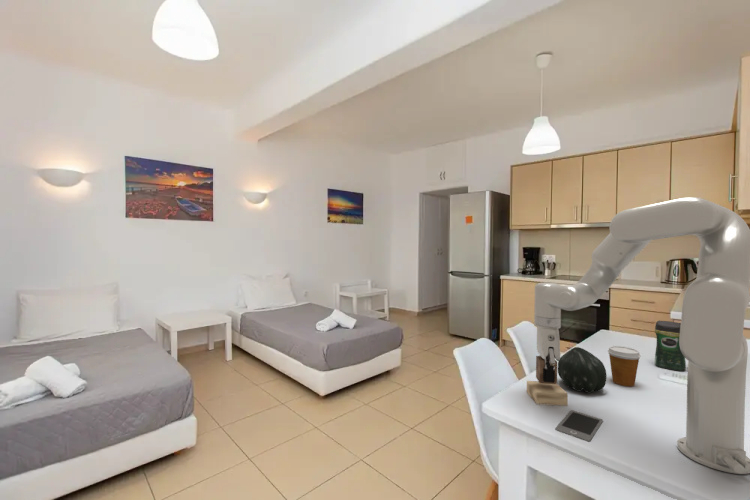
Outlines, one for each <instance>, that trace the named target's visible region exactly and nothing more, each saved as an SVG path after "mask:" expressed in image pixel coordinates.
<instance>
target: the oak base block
mask: <svg viewBox="0 0 750 500" xmlns="http://www.w3.org/2000/svg"><path fill="white" fill-rule="evenodd" d="M526 393H527V394H528V395H529V396H530V398H531V399H532V400H533V401H534V403H535V404H536V403H537V404H536V405H544V404H545V406H546V405H547V406H565V407H566V406H568V397H569V396H568V395H569V394H568V392H567V391H565V389H563V388H562V387H561V386H560V385H559V384H558V383H557V385H556V384H545V383H539V381H538V380H536V381H535V380H526Z"/></svg>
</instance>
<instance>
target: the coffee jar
mask: <svg viewBox="0 0 750 500" xmlns="http://www.w3.org/2000/svg"><path fill="white" fill-rule="evenodd" d="M680 327H681V322H676V321H668V320H657V321H656V322H655V327H654V333H655V335H656V345H655V346H656V347H655V353H654V365H655V366H657V367H659V368H662V369H666V370H673V371H679V372H680V371H685V370H686V368H687V365H686V358H685V357H684V355H683V354H682V352H681V349H680V345H679V338H680Z"/></svg>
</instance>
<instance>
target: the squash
mask: <svg viewBox="0 0 750 500" xmlns="http://www.w3.org/2000/svg"><path fill="white" fill-rule="evenodd" d="M557 375H558V376H559V377H560V380H561V381H562V383H563V384H564V386H566V387H567V388H570V389H574V391H578V392H580V391H584V392H586V393H592V392H600V391H601V390H603V389H604V387H606V383H607V370H606V367H605V365H604V363H603V361H601V359H600V358H598V357H597V356H596V355H594V354H593V353H592V352H590V351H588V350H586V349H584V348H582V347H579V346H576V347H572V348H571V349H570V350H568V351H566V352H565V353H564V354H563V355H561V356H560V360H559V361H557Z"/></svg>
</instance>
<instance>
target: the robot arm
mask: <svg viewBox="0 0 750 500" xmlns="http://www.w3.org/2000/svg"><path fill="white" fill-rule="evenodd" d="M748 225H749V224H748V223H747V222H746V221H745V220H744V219H743V218H742V217H741V216H740V215H739V214H738V213H736V212H735V211H733V210H731V209H729V208H727V207H725V206H722V205H721V204H718V203H715V202H713V201H711V200H707V199H705V198H702V197H696V196H688V197H679V198H675V199H672V200H667V201H666V200H665V201H663V202H662V201H660V202H656V203H652V204H648V205H647V204H646V205H643V206H638V207H633V208H632V207H631V208H628V209H623V210H622V211H619V212H618V213H617V214H615V215H614V216H613V218H611V221H610V224H609V228H608V229H609V234H608V235H606V237H605V238H604V239H603V240H602V241H601V243H599V245H598V246H596V248H594V250H593V251H592V254H591V265H590V267H589V268H588V270H587V271H586V273H585V274H584V275H583V276H582V277H581V278H580V279H579V280H578V281H577V282H576V283H574V284H568V285H566V284H565V285H560V284H558V283H555V282H538V283H536V284H535V286H534V318H533V319H534V320H533V321H534V322H533V323H534V325H533V326H535V327H537V328H536V352H537V353H538V354H539V355H538V356H541V357H542V358H543V359H544V368H543V381H544V382H552V383H554V382H555V360H556V361H557V362H558V361H559V360H560V358H561V345H560V343H561V341H560V331H559V329H561V327H562V326H561V325H562V324H561V321H562V314H561V313H562V310H564V311H569V312H570V311H571V312H573V311H577V310H581V309H584V308H587V307H590V306H592V305H593V304H595V303H596V302H597V300H599V299H600V298H601V297H602V296H603V295H604V294H605V293H606V292H607V291H608V290H609V289H610V288H611V286H612V285H613V284H614V282H615V281H616V279H618V277H619V276H620V275H621V272H622V271H624V269H625V268H626V267H627V266H628V265H629V264H630V263H631V262H632V261H633V260H634V259H635V258H636V257H637V256H638V255H639V254H640V253H641V252H642V251H643V250H644V249H645V248H646V247H647V245H649V244H650V243H651V242H652V241H653V240H662V239H668V238H677V237H682V236H694V237H697V238H698V240H699V243H700V246H699V247H700V248H699V252H698V265H697V273H696V277H695V280H694V281H693V282H691V283H690V284H689V285H688V286H687V288H686V289H685V292H684V295H683V301H682V307H681V308H682V309H681V319H680V323H681V327H680V338H679V345H680V349H681V352H682V354H683V355H684V357H685V360H687V376H686V377H687V378H686V379H687V381H686V383H687V385H686V417H685V418H686V419H685V420H686V423H685V424H686V426H685V428H686V429H685V437H681V438H679V439H677V443H676V444H677V445H676V446H677V448H678V450H679V451H680V452H681V453H682V454H683V455H685V457H688V458H689V459H691V460H693V461H694V462H696V463H699V464H701V465H703V466H706V467H709V468H711V469H713V470H716V471H717V470H718V471H720V472H725V473H729V474H735V475H736V474H737V475H747V474H748V475H749V474H750V457H749V456H748V455H747V452H746V450H745V416H746V415H745V414H746V413H745V411H746V409H745V408H746V407H745V406H746V382H747V381H746V380H747V366H748V365H747V364H748V354H749V353H748V352H749V350H748V341H747V338H746V337H745V335H744V326H745V319H746V310H747V308H748V306H749V305H750V227H749V226H748ZM546 357H549V359H547V358H546ZM547 361H549V363H547Z"/></svg>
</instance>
